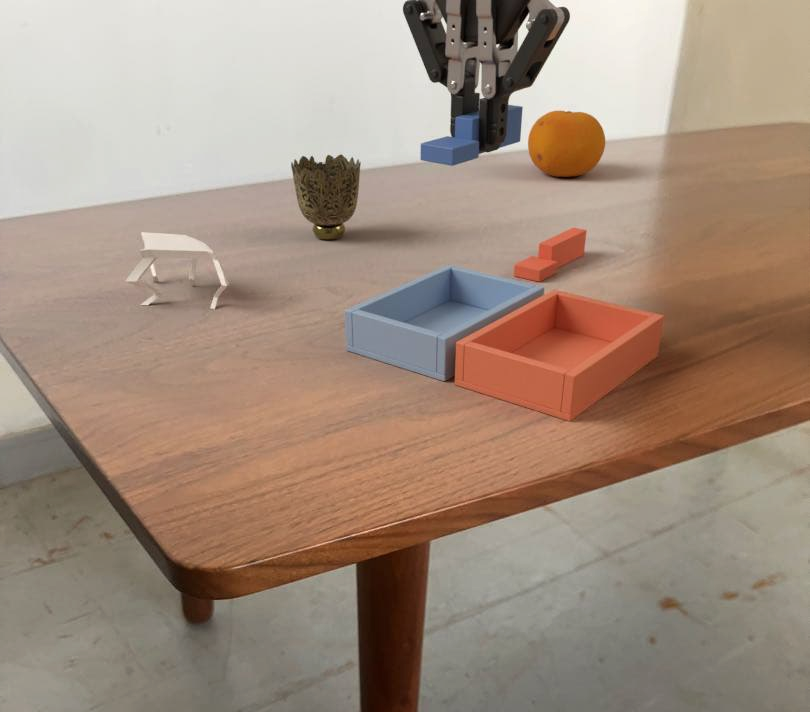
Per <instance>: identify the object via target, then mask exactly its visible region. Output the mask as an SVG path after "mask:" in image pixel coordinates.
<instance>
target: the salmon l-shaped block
mask: <svg viewBox="0 0 810 712" xmlns="http://www.w3.org/2000/svg"><path fill="white" fill-rule="evenodd" d="M586 239H587V229H584V228H578V227H571V228H570V229H567V230H565V231H562V232H561V233H558V234H556V235H554V236H551V237H550V238H547V239H546V240H543V241H541V242H539V244H538V254H537V255H538V256H535V255H531V256H529V257H527V258H525V259H523V260H521V261H519V262H516V263H515V264H514V265H513V266H514V267H513V277H516V278H521V279H525V280H530V281H534V282H538V283H541V282H542V281H544V280H546V279H548V278H549V277H552V276H554V275H556V274H557V271H558V269H559V268H561V267H562V266H565V265H566V264H569V263H570V262H572V261H574V260H576V259H579V258H581V257H582V256H585V249H586Z"/></svg>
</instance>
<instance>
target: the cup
mask: <svg viewBox="0 0 810 712" xmlns="http://www.w3.org/2000/svg"><path fill="white" fill-rule="evenodd" d="M290 167H291V172H292V179H293V182H294V183H293V184H294V190H295V196H296V199H297V204H298V207H299V210H300V212H301V214H302V216H303V217H304V219H306V221H308V222H309V223H311V224H313V225H312V232H313V236H315V237H316V238H318V239H320V240H326V241H331V240H338V239H340V238H342V237H343V236H344V235H345V233H346V229H347V228H346V226H345V223H347V222H348V221H349V220H350V219H351V218H352V217H353V215H354V214H355V212H356V209H357V206H358V205H357V204H358V198H359V189H360V177H361V176H360V174H361V161H360V159H359V158H357V160H356V162H355V160H354V157H353V156H352V157H351V158H350V159H349V161H348V158H346V157H345V156H344V155H343V154H338V155H337V156H335V157H334V156H332V155H331V154H327V155H326V156H325V160H324V162H323V161H319V162H316V160H315V158H314V156H313V155H311V156H310V157H309V158H307V157H306V156H304V155H302V156H301V157H300V159H299V161H298V160H297V159H296V158H294V160H293V161H291V164H290Z"/></svg>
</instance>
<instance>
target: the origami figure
mask: <svg viewBox="0 0 810 712" xmlns="http://www.w3.org/2000/svg"><path fill="white" fill-rule="evenodd" d="M140 234H141V238H142V243H143V249H140V250H138V252H139V254H140V255H141V260H140V261H139V262H138V263H137V265H136V266H135V267H134V268H133V270H132V271H131V273H130V274H129V275H128V277H127V278H126V279H125V281H124V282H126V283H127V284H129V285H133V286H135V287H138V288H139V289H142V290H144V291H147V292H149V293H151V294H153V295H151V296H150V297H149V298H147V299H146V300H144V301H143V302H142V303H141V304H139V306H150V305H151V304H152V303H153V302H154V301H156V300H157V299H158V298H159V297H160V296H162V295H163V292H161V291H159V290H158V289H156V288H155V287H153V286H152V285H150V284H148V283H147V282H145V281H143V280H142V279H141V278H142V277H143V276H144V275H145V274H146V272H147V271H148V270H149V268H150V271H151V275H152V282H154V283H157V282H159V278H158V275H157V274H158V273H157V272H158V271H157V266H156V265H157V264H156V260H157V259H158V258H167V259H190V260H191V261H190V262H191V263H190V269H189V275H188V280H189V282H190V284H191V286H192V287H197V284H196V282H195V274H196V270H197V264H198V259H199V260H212V262H213V264H214V268H215V270H216V273H217V276H218V279H219V282H220V287H218V289H217V291H216V292H215V293H214V294H213V297H212V300H211V304H210V307H209V309H211V310H215V309H216V308H217V305H218V300H219V297H220V296H221V294H222V293H223V292H224V291H225V289H226V288H228V286H229V285H230V282H229V279H228V278H227V275H226V272H225V269H224V268H223V266H222V264H221V262H220V260H219V258H218V256H217V255H216V254H215V252H214V251H213V249H211V248H210V247H209V246H208V245H207V244H206V243H205V242H203V241H201V240H199V239H197V238H195V237H191V236H188V235H187V234H180V233H179V234H177V233H162V232H148V231H147V232H145V231H141V233H140Z"/></svg>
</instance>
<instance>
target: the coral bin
mask: <svg viewBox="0 0 810 712" xmlns="http://www.w3.org/2000/svg"><path fill="white" fill-rule="evenodd" d="M664 319H665V315H663V314H658V313H655V312H651V311H646V310H643V309H638V308H634V307H630V306H625V305H621V304H617V303H613V302H609V301H605V300H601V299H596V298H592V297H587V296H584V295H579V294H574V293H571V292H567V291H563V290H558V289H552V290H550V291H549V292H547V293H544V295H543V296H541V297H539V298H537V299H536V300H534V301H532V302H530V303H528V304H526V305H524V306H523V307H521V308H519V309H517V310H515V311H513V312H511V313H510V314H508V315H506V316H504V317H502V318H500V319H498V320H496V321H495V322H493V323H491V324H489V325H487V326H485V327H483V328H482V329H480V330H478V331H476V332H474V333H472V334H470V335H469V336H467V337H465V338H463V339H461V340H459V341H457V342H456V361H455V376H454V386H457V387H460V388H464V389H467V390H470V391H473V392H477V393H479V394H482V395H485V396H489V397H491V398H495V399H498V400H502V401H504V402H508V403H511V404H514V405H518V406H521V407H524V408H527V409H530V410H533V411H537V412H540V413H542V414H546V415H548V416H552V417H555V418H558V419H562V420H564V421H568V422H571V421H572V420H574V419H575V418H576V417H579V416H580V415H581V414H582V413H583V412H584V411H586V410H587V409H588V408H590V407H592V406H593V405H595V403H597V402H598V401H600V400H601V399H602V398H603V397H605V396H606V395H608V394H609V393H610V392H611V391H613V390H615V389H616V388H617V387H619V386H620V385H622V384H623V383H624V382H625V381H627V380H628V379H629V378H630V377H632V376H633V375H634V374H636V373H637V372H639V371H640V370H642V369H643V368H644V367H645V366H647V365H648V364H649V363H651V362H652V361H654V360H655V359H657V358H658V356H659V352H660V351H659V350H660V345H661V338H662V333H663V327H664Z"/></svg>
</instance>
